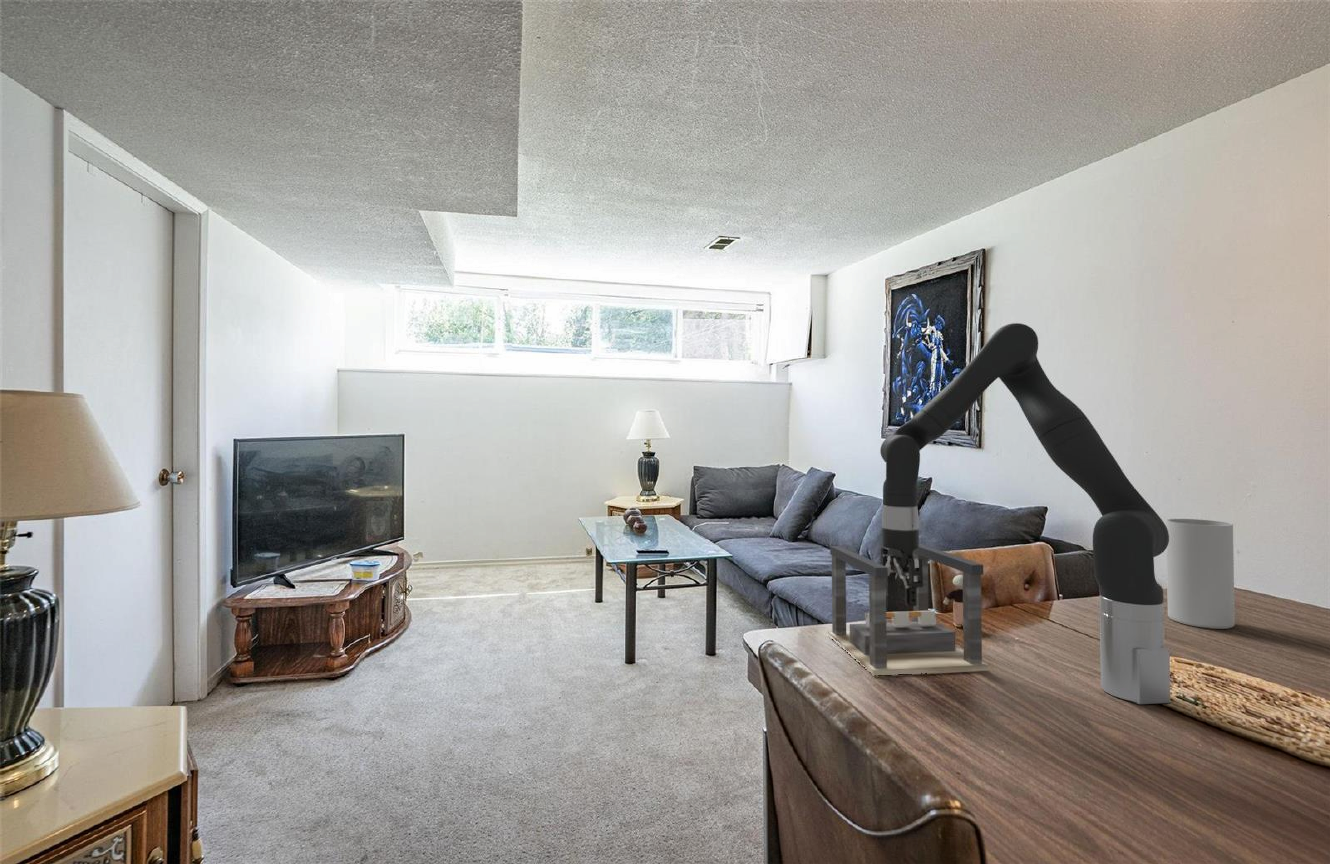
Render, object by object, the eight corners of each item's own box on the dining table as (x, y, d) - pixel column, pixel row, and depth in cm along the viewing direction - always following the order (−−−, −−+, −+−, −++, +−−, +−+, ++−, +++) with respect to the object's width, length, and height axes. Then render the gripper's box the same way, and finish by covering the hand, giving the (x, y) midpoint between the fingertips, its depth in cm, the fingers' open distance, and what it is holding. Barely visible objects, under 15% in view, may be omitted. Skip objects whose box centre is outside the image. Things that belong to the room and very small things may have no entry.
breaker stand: (988, 670, 120) (987, 574, 120) (873, 676, 118) (872, 578, 118) (924, 632, 144) (923, 551, 144) (827, 636, 142) (827, 554, 142)
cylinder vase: (1157, 618, 153) (1155, 520, 154) (1183, 612, 159) (1182, 517, 159) (1218, 632, 142) (1217, 527, 142) (1245, 625, 147) (1243, 523, 148)
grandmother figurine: (973, 624, 150) (973, 573, 150) (980, 629, 146) (979, 577, 146) (941, 623, 150) (940, 573, 151) (947, 628, 147) (946, 576, 147)
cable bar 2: (983, 574, 120) (983, 564, 120) (972, 574, 120) (971, 564, 120) (920, 552, 144) (920, 543, 144) (911, 552, 144) (910, 543, 144)
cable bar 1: (887, 577, 118) (887, 567, 118) (876, 578, 118) (876, 567, 118) (840, 554, 142) (840, 545, 142) (830, 554, 142) (830, 546, 142)
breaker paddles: (936, 624, 131) (934, 611, 132) (869, 627, 129) (868, 613, 130) (932, 623, 133) (930, 610, 133) (866, 626, 131) (865, 612, 132)
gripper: (934, 530, 125) (935, 609, 124) (900, 521, 139) (901, 591, 139) (899, 531, 124) (900, 610, 124) (869, 521, 138) (870, 592, 138)
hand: (900, 600), depth 131 cm, fingers open, 8 cm apart
